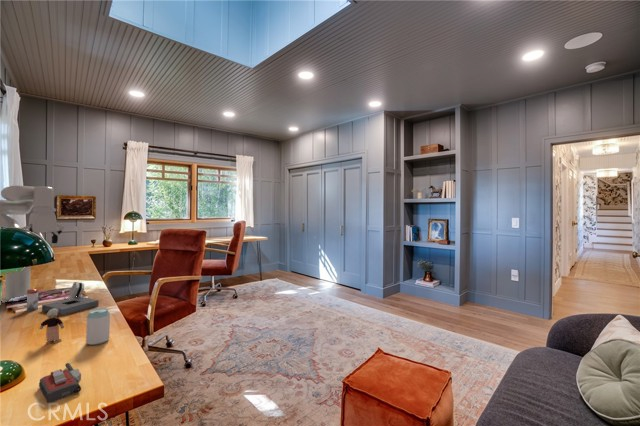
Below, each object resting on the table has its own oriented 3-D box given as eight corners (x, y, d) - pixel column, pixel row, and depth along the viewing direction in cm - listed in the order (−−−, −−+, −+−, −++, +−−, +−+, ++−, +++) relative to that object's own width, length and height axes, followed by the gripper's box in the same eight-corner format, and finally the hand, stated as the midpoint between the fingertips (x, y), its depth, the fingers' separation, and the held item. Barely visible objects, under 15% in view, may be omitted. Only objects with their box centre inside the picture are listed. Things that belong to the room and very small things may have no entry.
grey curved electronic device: (64, 296, 167) (72, 279, 169) (74, 297, 170) (82, 280, 172) (66, 303, 155) (75, 284, 157) (77, 304, 158) (85, 286, 160)
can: (110, 342, 111) (111, 311, 111) (87, 347, 106) (87, 315, 106) (107, 336, 116) (108, 306, 116) (85, 341, 112) (86, 310, 112)
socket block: (42, 311, 143) (42, 304, 143) (78, 301, 157) (79, 296, 157) (62, 315, 137) (62, 309, 137) (98, 305, 152) (98, 300, 152)
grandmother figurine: (66, 338, 114) (67, 306, 114) (62, 342, 110) (63, 309, 110) (40, 341, 110) (41, 308, 110) (36, 346, 107) (37, 311, 107)
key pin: (24, 310, 143) (25, 290, 143) (35, 308, 146) (35, 288, 146) (29, 311, 141) (29, 291, 141) (39, 309, 145) (40, 289, 145)
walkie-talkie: (90, 391, 82) (71, 366, 94) (90, 375, 82) (71, 353, 94) (47, 407, 75) (33, 378, 87) (48, 390, 75) (33, 364, 87)
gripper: (58, 211, 158) (58, 242, 158) (16, 210, 142) (16, 245, 142) (67, 210, 155) (67, 242, 155) (26, 210, 139) (25, 246, 139)
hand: (43, 244), depth 148 cm, fingers open, 9 cm apart
